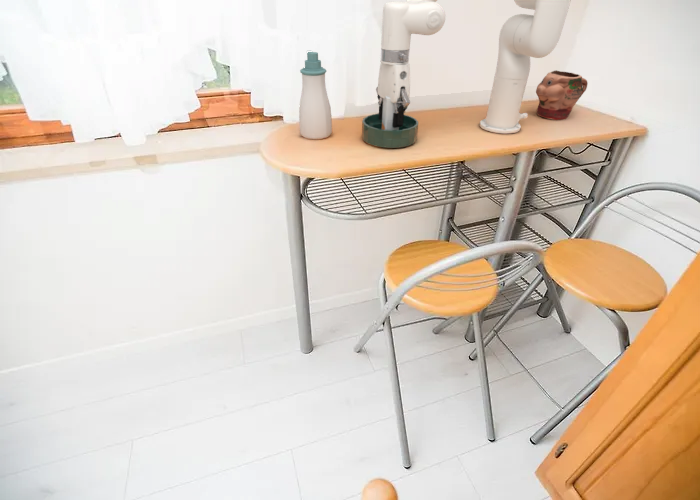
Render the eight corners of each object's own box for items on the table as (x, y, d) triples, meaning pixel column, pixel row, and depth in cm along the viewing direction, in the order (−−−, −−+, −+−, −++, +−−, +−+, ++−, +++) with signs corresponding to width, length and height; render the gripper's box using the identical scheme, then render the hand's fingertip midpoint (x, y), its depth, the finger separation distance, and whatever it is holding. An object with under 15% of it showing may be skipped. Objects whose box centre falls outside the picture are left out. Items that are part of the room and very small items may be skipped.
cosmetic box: (380, 133, 121) (383, 92, 114) (394, 133, 121) (397, 92, 114) (383, 140, 116) (386, 98, 109) (398, 140, 116) (401, 97, 109)
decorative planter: (561, 107, 147) (574, 67, 139) (589, 117, 138) (605, 74, 130) (520, 113, 141) (531, 71, 133) (546, 124, 132) (560, 79, 124)
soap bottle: (326, 128, 127) (324, 49, 114) (336, 138, 120) (335, 55, 107) (296, 131, 124) (290, 51, 111) (304, 142, 117) (299, 57, 104)
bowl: (397, 127, 128) (398, 110, 125) (427, 144, 116) (429, 125, 113) (352, 135, 122) (352, 117, 119) (379, 153, 110) (380, 134, 107)
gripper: (425, 60, 101) (418, 130, 111) (389, 50, 114) (385, 113, 124) (400, 63, 98) (395, 134, 109) (366, 52, 111) (364, 116, 121)
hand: (390, 122), depth 116 cm, fingers closed on cosmetic box, 7 cm apart
